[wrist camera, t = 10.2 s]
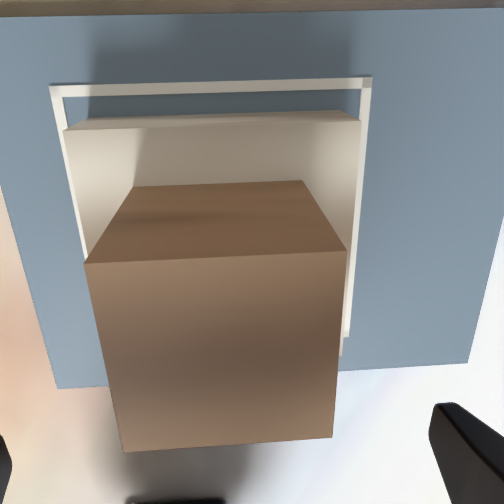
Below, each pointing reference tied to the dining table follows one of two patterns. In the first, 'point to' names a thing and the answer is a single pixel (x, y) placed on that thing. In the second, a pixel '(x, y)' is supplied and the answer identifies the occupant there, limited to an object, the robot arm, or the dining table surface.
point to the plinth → (216, 160)
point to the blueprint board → (278, 100)
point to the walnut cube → (219, 314)
